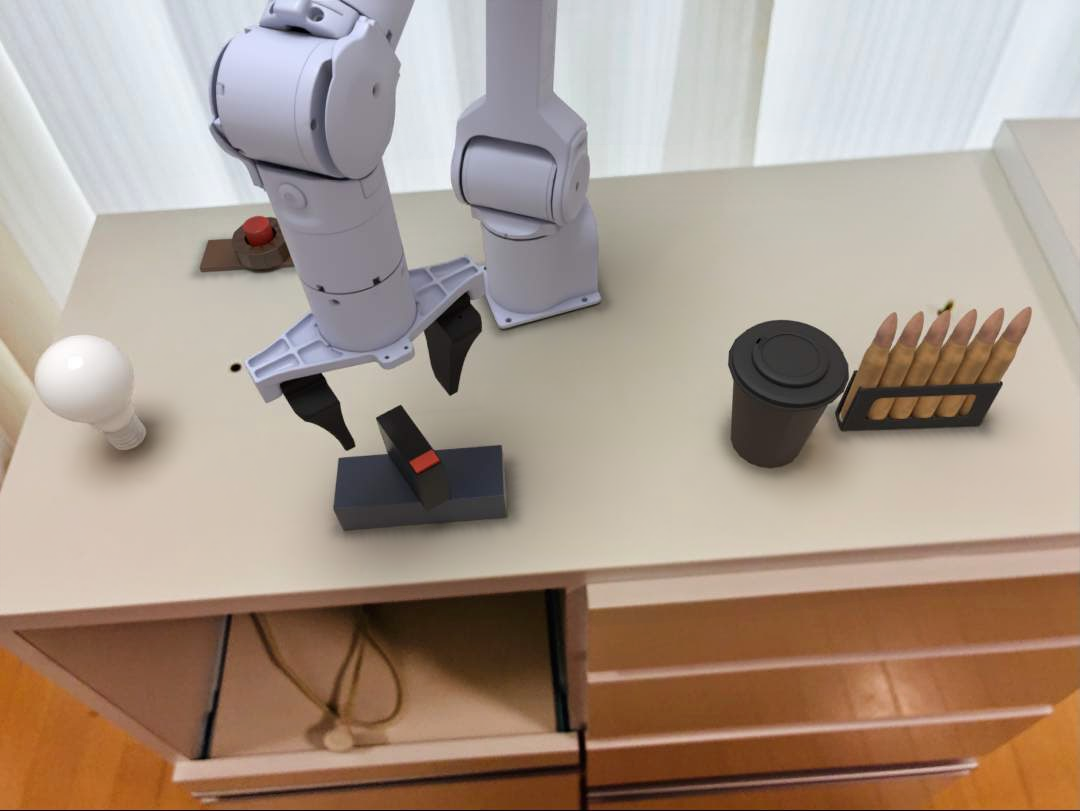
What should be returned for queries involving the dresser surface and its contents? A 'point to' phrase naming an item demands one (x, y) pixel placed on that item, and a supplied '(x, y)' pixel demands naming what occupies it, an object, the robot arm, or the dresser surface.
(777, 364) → the coffee cup
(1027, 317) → the ammunition clip
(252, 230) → the release button
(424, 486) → the black block red marker
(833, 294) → the dresser surface
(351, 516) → the switch base
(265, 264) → the block
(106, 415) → the lightbulb
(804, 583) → the dresser surface
